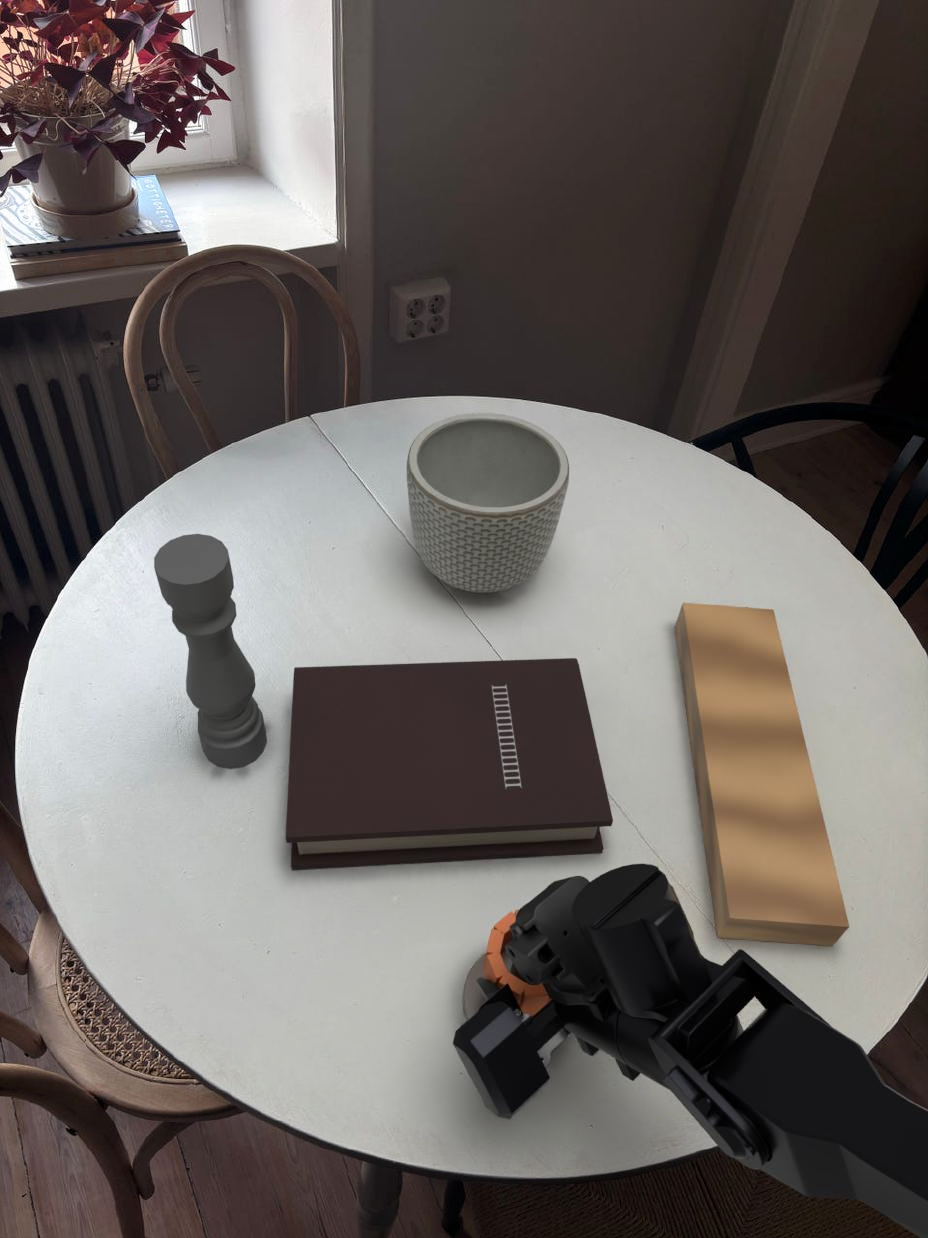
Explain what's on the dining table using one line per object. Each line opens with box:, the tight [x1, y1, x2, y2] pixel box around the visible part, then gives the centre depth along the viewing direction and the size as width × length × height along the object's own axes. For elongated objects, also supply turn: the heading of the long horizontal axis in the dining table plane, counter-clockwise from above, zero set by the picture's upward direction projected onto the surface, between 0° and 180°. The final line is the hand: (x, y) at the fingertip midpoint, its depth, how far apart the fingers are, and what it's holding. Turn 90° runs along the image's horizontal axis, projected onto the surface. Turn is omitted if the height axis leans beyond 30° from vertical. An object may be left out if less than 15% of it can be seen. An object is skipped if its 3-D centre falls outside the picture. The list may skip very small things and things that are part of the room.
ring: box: [483, 909, 552, 1015], centre depth 67 cm, size 6×7×4 cm
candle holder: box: [153, 533, 268, 770], centre depth 79 cm, size 6×6×25 cm
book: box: [285, 657, 614, 871], centre depth 86 cm, size 28×20×6 cm
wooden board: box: [674, 602, 850, 947], centre depth 88 cm, size 36×10×4 cm, turn 177°
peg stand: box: [462, 951, 563, 1053], centre depth 69 cm, size 9×9×11 cm
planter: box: [406, 412, 570, 594], centre depth 101 cm, size 17×17×16 cm
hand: (515, 954), depth 69 cm, fingers closed on ring, 6 cm apart
